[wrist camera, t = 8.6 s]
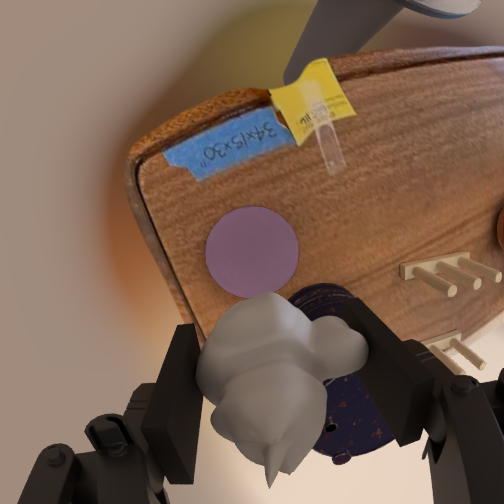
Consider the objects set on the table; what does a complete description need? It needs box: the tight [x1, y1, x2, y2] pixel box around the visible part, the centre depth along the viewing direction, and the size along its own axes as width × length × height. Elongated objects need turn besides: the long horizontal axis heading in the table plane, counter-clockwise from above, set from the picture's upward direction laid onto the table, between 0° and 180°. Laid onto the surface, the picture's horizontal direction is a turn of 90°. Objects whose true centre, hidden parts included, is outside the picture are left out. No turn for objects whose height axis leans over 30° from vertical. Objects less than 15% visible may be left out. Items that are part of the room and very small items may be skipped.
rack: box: [400, 251, 502, 375], centre depth 29 cm, size 13×10×8 cm
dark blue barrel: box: [288, 283, 395, 465], centre depth 24 cm, size 10×10×18 cm
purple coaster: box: [205, 206, 299, 298], centre depth 30 cm, size 9×9×1 cm
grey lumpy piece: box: [195, 292, 369, 488], centre depth 10 cm, size 5×7×8 cm
